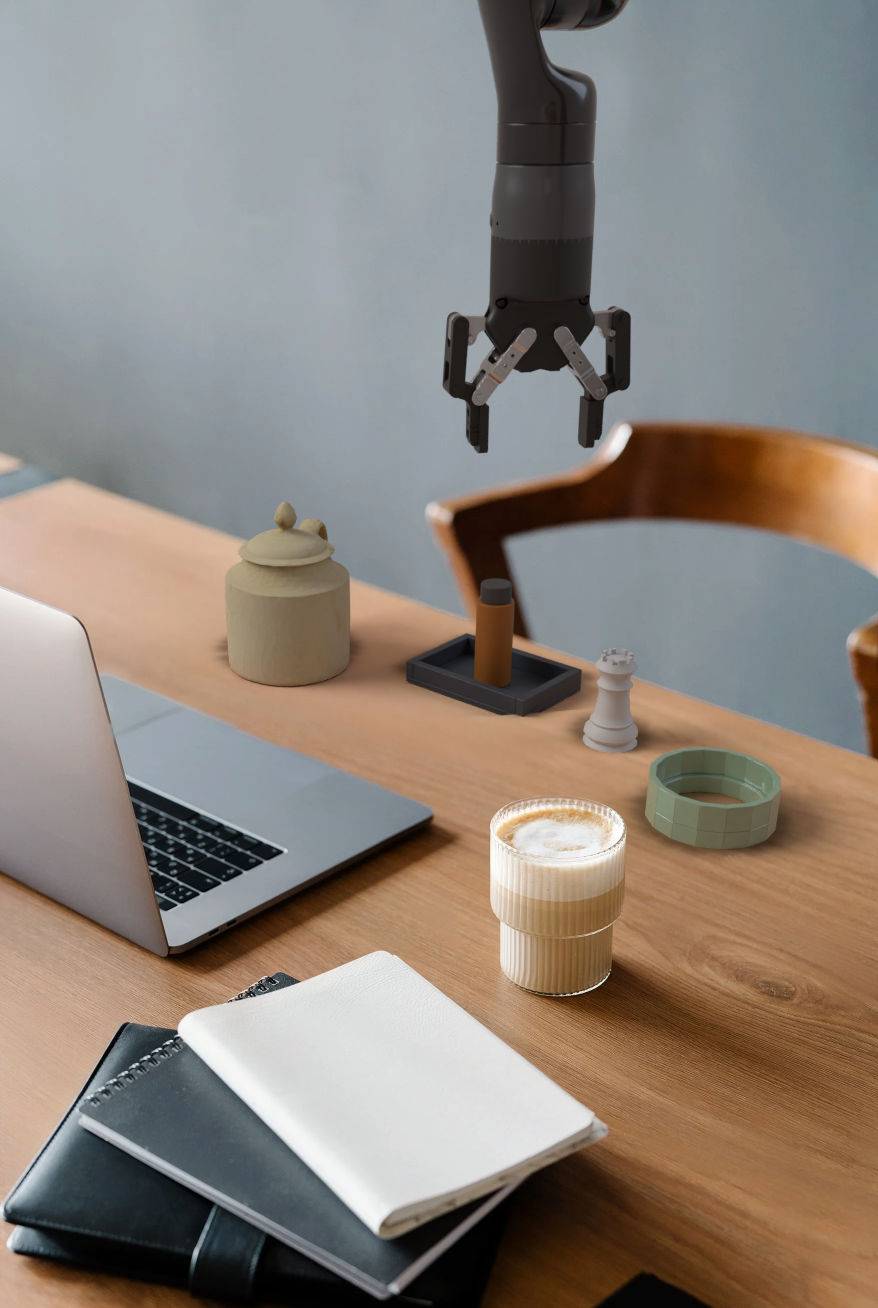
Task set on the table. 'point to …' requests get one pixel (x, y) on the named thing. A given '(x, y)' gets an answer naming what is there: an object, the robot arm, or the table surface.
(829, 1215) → the table surface
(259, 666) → the sugar bowl
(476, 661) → the bottle
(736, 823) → the green hollow ring
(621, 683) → the rook chess piece
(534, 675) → the tray
